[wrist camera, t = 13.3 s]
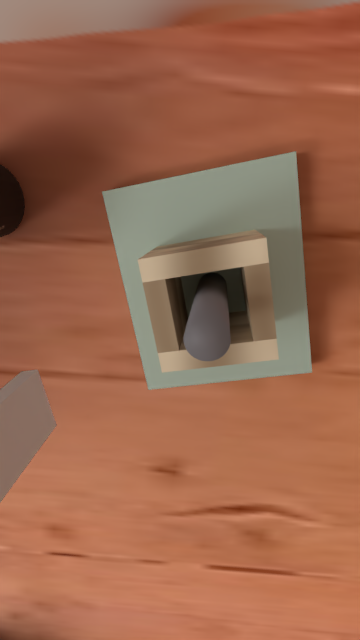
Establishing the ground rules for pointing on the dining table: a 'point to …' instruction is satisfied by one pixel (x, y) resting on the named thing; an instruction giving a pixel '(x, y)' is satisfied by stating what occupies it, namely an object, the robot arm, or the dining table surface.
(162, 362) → the wooden square ring
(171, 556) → the dining table surface
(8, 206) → the coffee mug
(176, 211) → the rod stand
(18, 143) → the dining table surface
